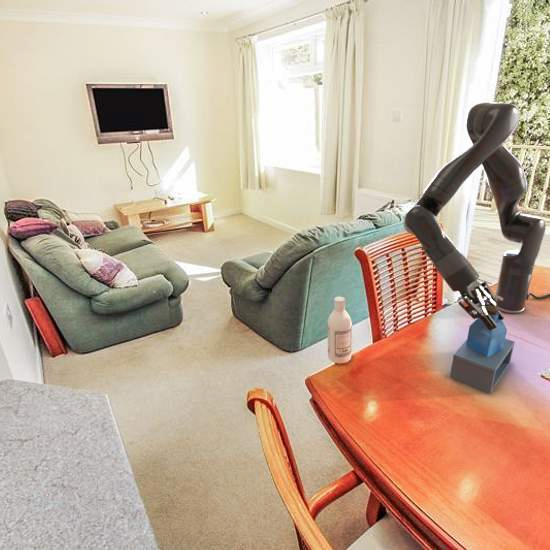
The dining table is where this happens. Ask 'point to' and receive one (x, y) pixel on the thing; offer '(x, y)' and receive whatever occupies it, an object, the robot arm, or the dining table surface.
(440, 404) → the dining table surface
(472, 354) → the shelf
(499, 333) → the perfume bottle
